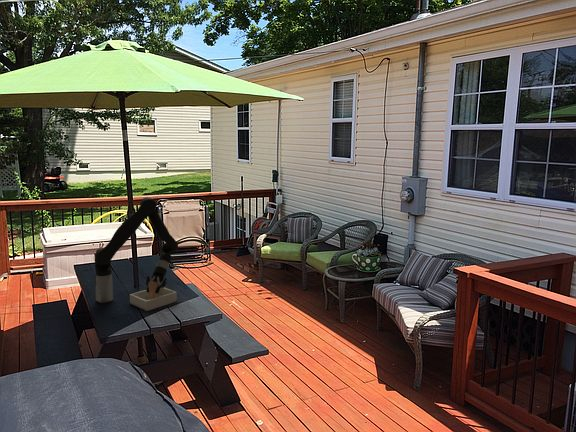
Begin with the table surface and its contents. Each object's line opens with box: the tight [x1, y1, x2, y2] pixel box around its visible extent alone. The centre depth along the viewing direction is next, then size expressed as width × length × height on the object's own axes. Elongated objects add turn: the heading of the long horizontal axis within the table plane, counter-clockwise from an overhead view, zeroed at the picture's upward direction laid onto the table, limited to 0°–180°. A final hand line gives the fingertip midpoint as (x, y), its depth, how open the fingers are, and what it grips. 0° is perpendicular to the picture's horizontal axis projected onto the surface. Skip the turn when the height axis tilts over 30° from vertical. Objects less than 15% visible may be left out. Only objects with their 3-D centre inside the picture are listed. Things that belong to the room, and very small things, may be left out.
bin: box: [129, 286, 178, 312], centre depth 286 cm, size 22×18×6 cm
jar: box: [149, 281, 158, 299], centre depth 286 cm, size 6×6×10 cm
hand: (152, 292), depth 284 cm, fingers closed on jar, 5 cm apart
